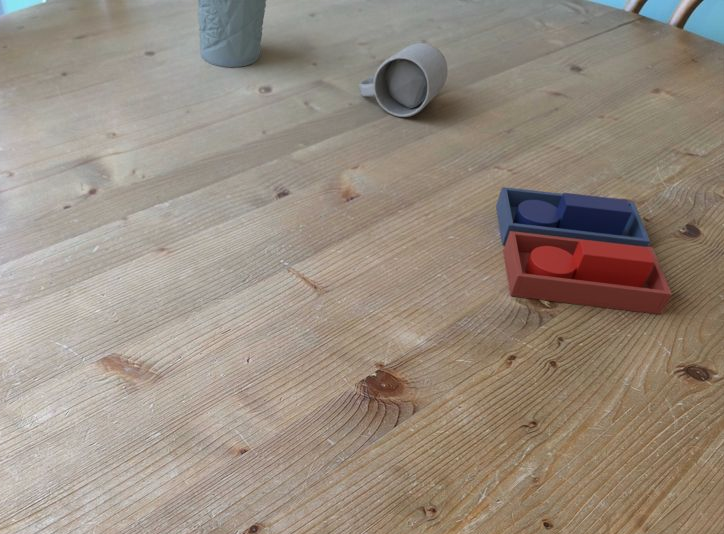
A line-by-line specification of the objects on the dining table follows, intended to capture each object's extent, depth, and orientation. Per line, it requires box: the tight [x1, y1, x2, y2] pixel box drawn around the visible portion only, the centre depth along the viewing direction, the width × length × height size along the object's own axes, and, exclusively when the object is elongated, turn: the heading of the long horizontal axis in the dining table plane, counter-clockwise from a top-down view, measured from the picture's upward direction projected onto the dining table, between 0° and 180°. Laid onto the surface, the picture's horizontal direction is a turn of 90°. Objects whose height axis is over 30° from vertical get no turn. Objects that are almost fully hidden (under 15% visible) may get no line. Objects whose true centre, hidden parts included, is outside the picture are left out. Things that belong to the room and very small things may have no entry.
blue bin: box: [495, 186, 651, 247], centre depth 79 cm, size 14×7×2 cm, turn 82°
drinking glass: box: [197, 0, 267, 68], centre depth 104 cm, size 10×10×12 cm
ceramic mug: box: [358, 42, 449, 118], centre depth 97 cm, size 11×8×8 cm
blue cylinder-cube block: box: [514, 192, 632, 236], centre depth 78 cm, size 11×4×4 cm, turn 82°
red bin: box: [503, 231, 673, 315], centre depth 73 cm, size 14×7×2 cm, turn 82°
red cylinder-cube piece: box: [526, 240, 655, 288], centre depth 72 cm, size 11×4×4 cm, turn 82°
